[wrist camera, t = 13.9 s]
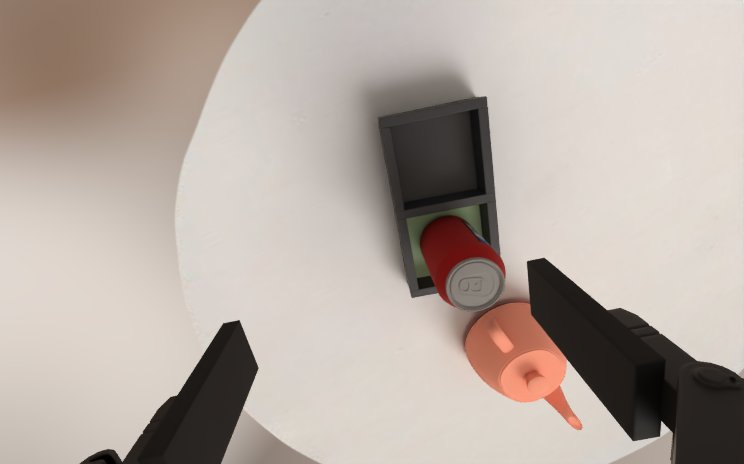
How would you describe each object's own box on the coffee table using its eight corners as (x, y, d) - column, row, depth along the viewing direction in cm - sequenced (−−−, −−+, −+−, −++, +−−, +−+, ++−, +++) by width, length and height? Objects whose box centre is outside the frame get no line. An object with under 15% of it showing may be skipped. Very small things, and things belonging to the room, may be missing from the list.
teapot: (510, 269, 46) (546, 308, 37) (580, 355, 51) (627, 408, 42) (436, 324, 49) (453, 373, 40) (509, 400, 53) (539, 460, 44)
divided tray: (377, 117, 40) (378, 118, 36) (476, 97, 39) (486, 96, 36) (408, 284, 46) (411, 298, 43) (492, 268, 46) (502, 281, 43)
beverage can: (472, 263, 45) (510, 316, 34) (418, 266, 45) (438, 320, 33) (474, 211, 43) (515, 249, 31) (418, 214, 43) (438, 254, 31)
